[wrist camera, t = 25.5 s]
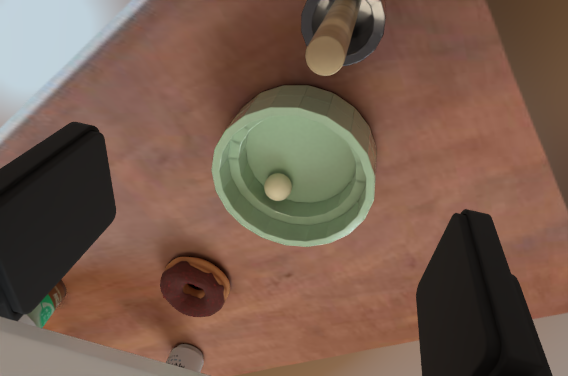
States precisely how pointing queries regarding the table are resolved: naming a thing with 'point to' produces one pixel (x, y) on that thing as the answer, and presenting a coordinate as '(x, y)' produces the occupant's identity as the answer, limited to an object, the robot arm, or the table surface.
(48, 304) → the food container
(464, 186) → the table surface
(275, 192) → the ball
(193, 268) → the donut
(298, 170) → the bowl
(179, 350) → the energy drink can
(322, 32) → the stick
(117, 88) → the table surface
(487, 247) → the robot arm
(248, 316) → the table surface
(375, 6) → the holder
